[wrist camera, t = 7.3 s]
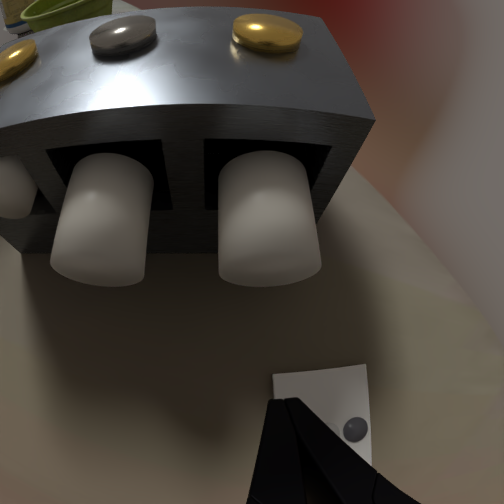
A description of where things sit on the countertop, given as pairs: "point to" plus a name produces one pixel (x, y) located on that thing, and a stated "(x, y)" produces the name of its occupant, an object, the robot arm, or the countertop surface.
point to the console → (176, 109)
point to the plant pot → (63, 12)
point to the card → (334, 401)
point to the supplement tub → (15, 15)
